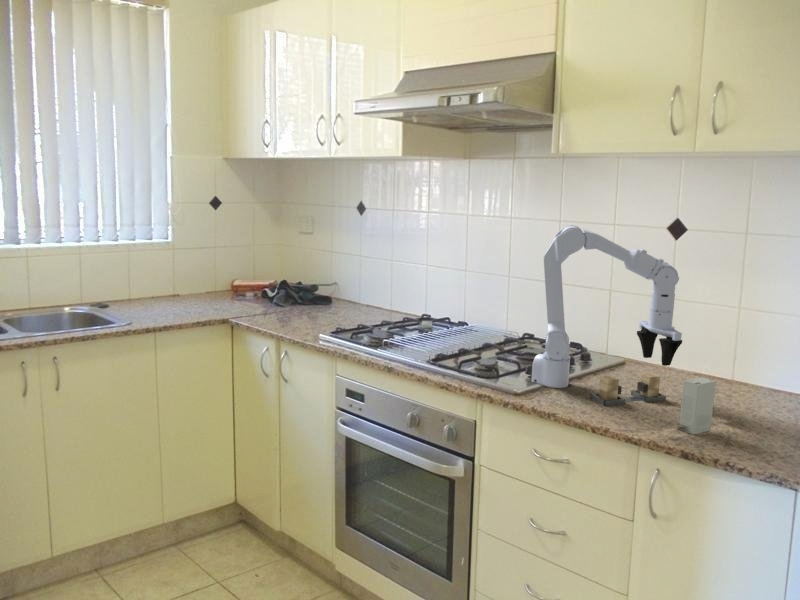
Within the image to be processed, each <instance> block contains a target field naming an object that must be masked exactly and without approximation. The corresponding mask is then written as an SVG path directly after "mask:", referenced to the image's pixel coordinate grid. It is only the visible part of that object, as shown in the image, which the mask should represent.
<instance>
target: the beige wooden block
mask: <svg viewBox="0 0 800 600" xmlns="http://www.w3.org/2000/svg"><path fill="white" fill-rule="evenodd" d="M660 382H661V376H660V375H657V374H655V373H652V372H647V373H641V376H640V381H637V387H636V390H639V391H640V394H641V395H643V396H645V397H652V396H658V395H659V393H660Z"/></svg>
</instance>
